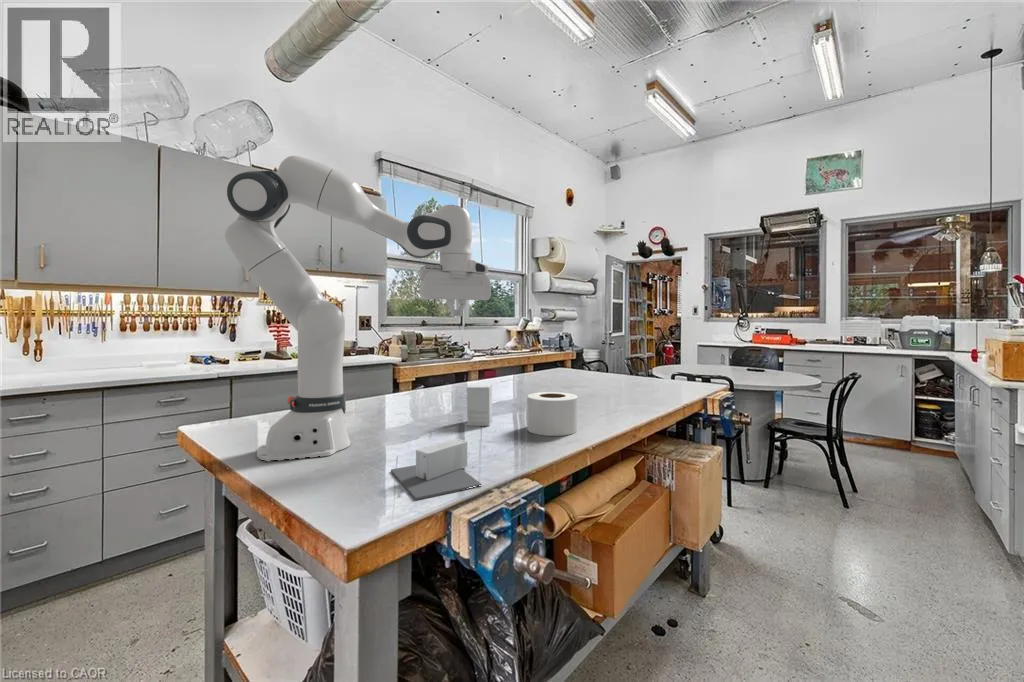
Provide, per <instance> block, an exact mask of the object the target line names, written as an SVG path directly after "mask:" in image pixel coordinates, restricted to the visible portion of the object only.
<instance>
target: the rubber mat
mask: <svg viewBox="0 0 1024 682" xmlns="http://www.w3.org/2000/svg"><path fill="white" fill-rule="evenodd" d="M390 472H391V473H392V475H393V476H394V477H395V478H396V479H397V481H398V482H399V483H400V484H401V485H402V486H403V487H404V489H406V491H407V492H408V493H409V494H410V495H411V497H412V498H413V499H414V501H420V500H424V498H425V499H428V498H429V499H430V498H434V497H438V495H439V496H443V495H447V493H448V494H451V493H450V492H453V493H455V492H454V491H457V492H460V491H459V490H462V491H464V490H463V489H467V488H469V487H473V486H479V485H481V486H482V483H481V482H479V481H478V480H477V479H475V478H474V477H473V476H472V475H470V474H469V473H467V472H466V471H465V470H463V468H461V469H458V470H455V471H453V472H450V473H447V474H444V475H442V476H439V477H436V478H433V479H431V480H428V481H427V480H425V479H422V478H419V477H417V476H416V464H415V465H409V466H403V467H397V468H396V467H395V468H391V469H390ZM467 490H468V489H467ZM442 494H443V495H442ZM433 496H434V497H433Z"/></svg>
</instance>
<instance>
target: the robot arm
mask: <svg viewBox="0 0 1024 682" xmlns="http://www.w3.org/2000/svg"><path fill="white" fill-rule="evenodd" d="M226 196H227V200H228V202H229V204H230V206H231V207H232V209H233V210H234V211H235V212H237V214H238V217H237V218H236V220H234V221H232V222H231V223H230V224H229V225H228V226H227V228H226V230H225V232H224V239H225V241H226V244H227V245H228V247H229V249H230V251H231V252H232V254H233V255H234V257H235V259H236V260H237V262H239V264H240V265H241V266H242V268H243V269H244V270H245V271H246V273H247V274H248V275H249V276H250V277H251V278H252V280H253V281H254V282H255V284H257V285H258V287H259V288H260V289H261V290H262V291H263V292H264V294H265V295H267V297H268V298H269V299H270V301H271V302H272V303H273V304H274V305H275V307H276V308H277V309H278V310H279V311H280V313H281V314H282V315H283V316H284V317H285V319H286V320H287V321H288V322H289V323H290V324H291V326H292V327H293V328H294V329H295V331H297V393H298V395H296V396H293V395H290V396H288V397H287V399H286V401H287V403H288V404H289V410H290V411H288V412H287V413H286V414H284V416H282V417H280V419H279V420H277V421H276V422H275V423H274V424H272V425H271V427H270V428H269V429H268V431H267V435H266V439H265V443H264V444H262V445H260V446H259V447H258V448H257V450H256V458H257V457H258V458H259V459H261V460H265V461H267V462H271V461H270V460H278V461H285V460H284V459H289V460H296V459H295V458H299V459H306V458H305V457H310V458H317V457H318V456H320V457H328V456H331V455H333V454H335V453H337V452H339V451H342V450H344V449H346V448H348V447H349V446H350V445H351V444H352V443H351V440H350V437H349V436H350V435H349V433H348V429H347V424H346V423H347V422H346V416H345V414H346V410H347V409H346V407H347V406H346V405H347V404H346V401H347V400H346V393H345V392H344V376H343V375H344V371H343V366H344V365H343V363H344V361H343V360H344V354H345V353H344V350H345V331H346V330H345V327H346V326H345V325H346V320H345V316H344V313H343V312H342V310H341V309H340V307H338V306H337V305H336V304H334V303H332V302H330V301H328V300H327V299H326V297H325V296H324V295H323V294H322V292H321V291H320V290H319V287H317V286H316V284H315V282H314V281H313V279H312V278H311V277H310V275H309V274H308V272H307V271H306V270H305V269H304V267H303V266H302V265H301V263H300V262H299V260H298V259H297V258H296V257H295V256H294V254H292V252H291V250H290V249H288V248H287V246H286V245H285V243H284V242H283V241H282V240H281V238H280V237H279V235H278V234H277V233H276V230H275V229H276V228H277V227H278V226H279V225H280V223H281V221H283V220H284V218H285V217H286V216H287V215H288V212H289V210H290V208H291V205H292V204H300V205H304V206H306V207H309V208H311V209H313V210H314V211H318V212H320V213H321V214H322V213H323V214H324V215H327V216H330V217H332V218H336V219H339V220H341V221H345V222H349V223H351V224H355V225H357V226H361V227H363V228H365V229H369V231H372V232H374V233H376V234H378V235H380V236H383V237H385V238H386V239H389V240H391V241H393V242H394V243H396V244H397V245H399V246H400V247H401V249H403V251H404V252H405V253H406V254H407V255H408V256H410V257H412V258H415V259H425V258H428V257H430V256H431V255H432V254H433V253H435V252H438V253H439V264H425V265H423V266H422V267H420V269H419V278H420V282H419V283H420V284H419V297H420V298H421V299H422V300H445V301H446V306H447V307H448V309H449V311H450V312H449V313H450V314H449V315H450V317H462V316H463V310H464V308H465V307H466V305H467V301H490V298H491V296H492V286H491V279H490V277H489V275H488V274H487V273H489V267H488V265H486V264H484V263H482V262H479V261H477V260H474V259H473V254H472V253H473V252H472V250H471V249H472V248H471V245H472V242H473V241H472V240H473V235H472V234H473V232H472V231H473V230H472V221H471V216H470V213H469V210H467V209H465V208H464V207H462V206H460V205H459V206H458V205H454V204H445V205H443V206H442V207H441V208H439V209H437V210H435V211H433V212H430V213H426V214H422V215H416V216H415V217H413V218H412V219H411V220H410V221H409V222H408V221H404V220H402V219H400V218H398V217H397V216H394V215H392V214H391V213H388V212H386V211H384V210H383V209H381V208H379V207H378V206H376V205H375V204H374V203H373V202H372V201H371V200H370V199H369V197H368V196H367V194H366V193H365V191H364V189H363V188H362V187H361V185H360V184H359V183H357V181H355V180H354V179H352V178H351V177H349V176H347V175H346V174H345V173H342V172H341V171H339V170H336V169H334V168H332V167H330V166H328V165H325V164H323V163H320V162H317V161H315V160H312V159H308V158H305V157H302V156H299V155H289V156H288V157H286V158H285V159H284V160H282V162H281V163H280V164H279V165H278V168H277V171H276V172H275V171H273V170H254V171H253V170H251V171H250V170H249V171H244V172H241V173H239V174H236V175H234V177H232V178H231V179H230V181H229V182H228V184H227V188H226ZM455 300H456V301H457V300H458V304H459V306H458V308H457V309H455V307H454V305H453V304H454V302H455ZM258 458H257V459H258ZM259 459H258V460H259ZM261 460H260V461H261ZM265 461H264V462H265Z"/></svg>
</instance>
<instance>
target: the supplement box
mask: <svg viewBox="0 0 1024 682" xmlns="http://www.w3.org/2000/svg"><path fill="white" fill-rule="evenodd" d="M466 400H467V401H466V405H467V406H466V408H467V409H466V412H467V414H466V416H467V426H468V427H469V426H472V427H474V426H475V427H490V426H491V424H492V422H493V384H492V383H470V384H469V385H468V386H467V387H466Z"/></svg>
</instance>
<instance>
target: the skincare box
mask: <svg viewBox="0 0 1024 682" xmlns="http://www.w3.org/2000/svg"><path fill="white" fill-rule="evenodd" d="M415 465H416V476H417V477H419V478H422V479H425V480H427V481H428V480H431V479H433V478H436V477H439V476H442V475H444V474H447V473H450V472H453V471H455V470H458V469H464V468H467V467H468V441H466V440H463V439H460V438H453V439H449V440H445V441H443V442H439V443H435V444H432V445H428V446H425V447H422V448H421V447H420V448H417V449H416V450H415Z"/></svg>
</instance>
